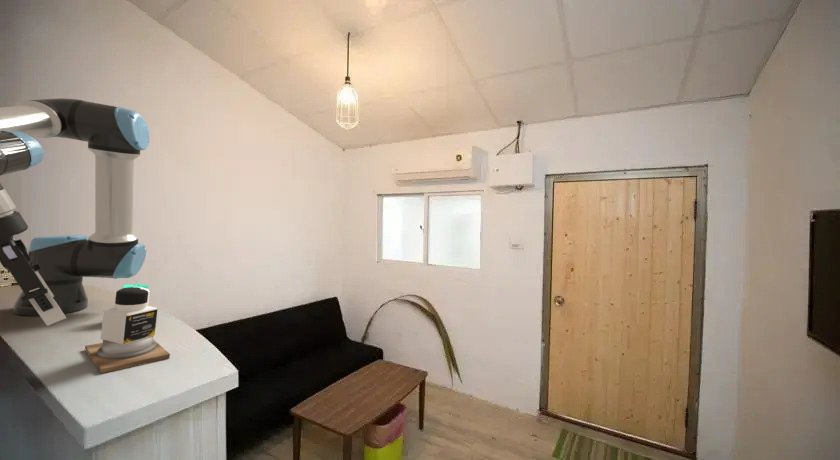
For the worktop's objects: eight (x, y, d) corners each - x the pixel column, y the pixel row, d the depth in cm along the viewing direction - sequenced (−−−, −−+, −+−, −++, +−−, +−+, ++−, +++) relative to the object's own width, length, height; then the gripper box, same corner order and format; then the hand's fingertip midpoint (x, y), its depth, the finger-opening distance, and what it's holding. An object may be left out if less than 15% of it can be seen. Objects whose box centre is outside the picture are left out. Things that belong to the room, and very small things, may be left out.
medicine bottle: (123, 345, 72) (128, 293, 72) (99, 339, 74) (105, 288, 74) (155, 335, 79) (160, 288, 79) (133, 330, 81) (138, 283, 81)
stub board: (84, 349, 76) (86, 333, 76) (148, 338, 86) (149, 324, 86) (100, 373, 67) (102, 355, 67) (169, 358, 77) (171, 341, 77)
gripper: (-48, 211, 62) (17, 299, 71) (-47, 239, 48) (33, 344, 57) (10, 199, 67) (63, 283, 76) (26, 222, 54) (88, 320, 63)
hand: (50, 309), depth 67 cm, fingers open, 13 cm apart
